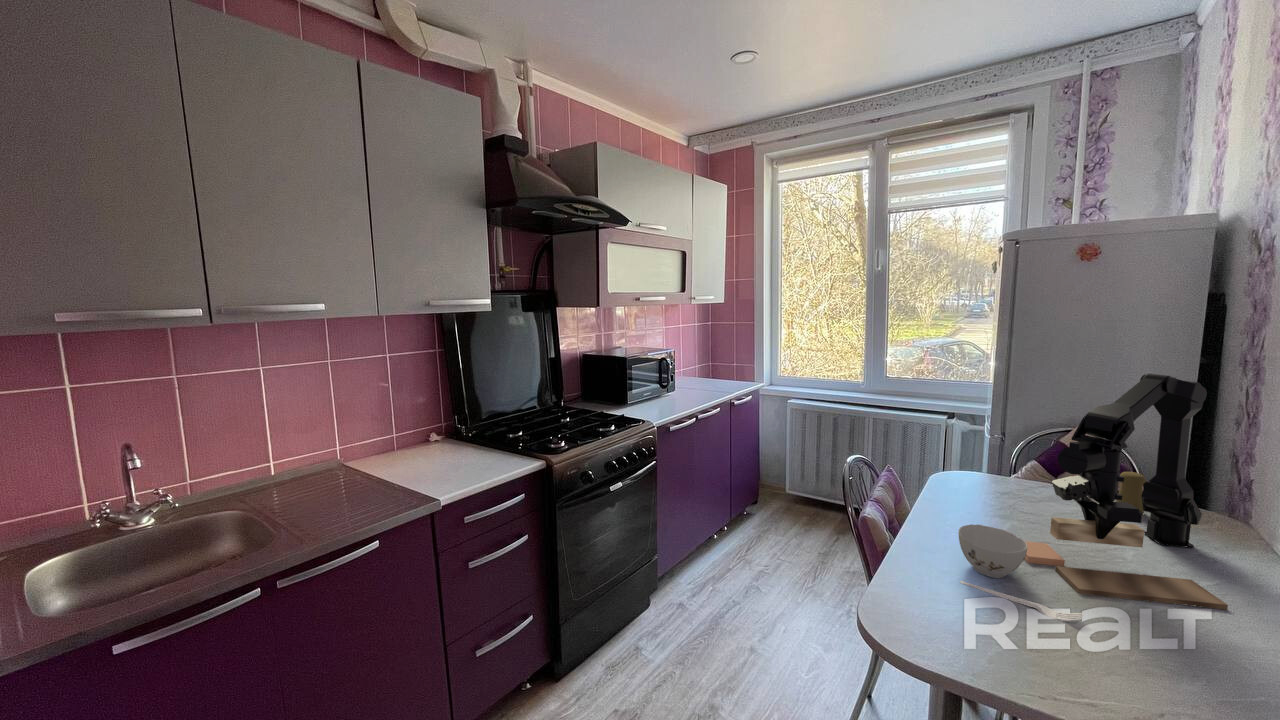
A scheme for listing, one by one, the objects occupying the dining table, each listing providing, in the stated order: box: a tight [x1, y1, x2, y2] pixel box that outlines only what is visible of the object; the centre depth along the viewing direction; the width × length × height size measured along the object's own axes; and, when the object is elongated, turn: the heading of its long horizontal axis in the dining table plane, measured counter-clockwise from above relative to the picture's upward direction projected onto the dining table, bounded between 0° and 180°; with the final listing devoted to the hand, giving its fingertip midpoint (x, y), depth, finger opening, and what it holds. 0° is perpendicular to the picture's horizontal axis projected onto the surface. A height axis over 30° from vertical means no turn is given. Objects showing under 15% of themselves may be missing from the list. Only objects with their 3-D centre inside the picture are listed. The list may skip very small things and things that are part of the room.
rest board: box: [1054, 565, 1229, 611], centre depth 105 cm, size 24×9×1 cm, turn 75°
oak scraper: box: [1049, 516, 1146, 548], centre depth 115 cm, size 16×3×4 cm, turn 76°
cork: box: [1115, 471, 1147, 514], centre depth 141 cm, size 6×6×11 cm
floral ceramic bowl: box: [958, 524, 1027, 579], centre depth 113 cm, size 15×12×8 cm
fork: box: [959, 580, 1085, 622], centre depth 102 cm, size 3×20×2 cm, turn 43°
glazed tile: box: [1024, 540, 1066, 567], centre depth 119 cm, size 2×8×7 cm
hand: (1095, 535), depth 115 cm, fingers closed on oak scraper, 3 cm apart
